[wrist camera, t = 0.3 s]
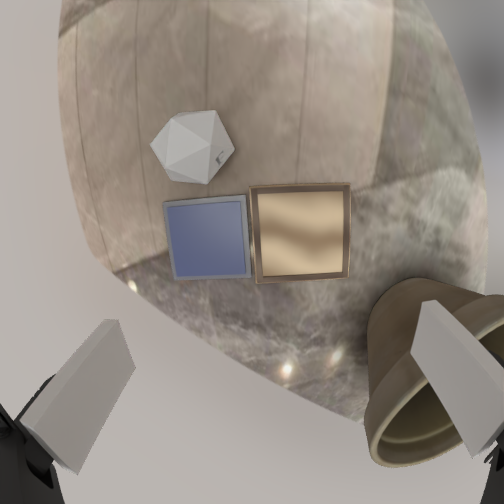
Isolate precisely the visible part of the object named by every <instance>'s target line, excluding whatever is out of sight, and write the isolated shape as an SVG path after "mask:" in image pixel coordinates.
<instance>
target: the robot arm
mask: <svg viewBox="0 0 504 504" xmlns="http://www.w3.org/2000/svg"><path fill="white" fill-rule="evenodd" d="M410 353H411V355H412V356H413V358H414V359H415V361H416V362H417V364H418V365H419V367H420V369H421V370H422V372H423V373H424V375H425V376H426V378H427V380H428V381H429V383H430V384H431V386H432V388H433V389H434V391H435V392H436V394H437V396H438V397H439V399H440V401H441V402H442V404H443V406H444V408H445V409H446V411H447V413H448V414H449V416H450V418H451V420H452V422H453V423H454V425H455V427H456V429H457V431H458V432H459V434H460V436H461V438H462V440H463V442H464V444H465V445H466V447H467V449H468V451H469V453H470V455H471V457H472V459H473V458H474V457H476V456H478V455H480V454H481V453H483V452H484V451H486V450H487V449H488V448H489V447H490V446H491V445H492V444H493V442H494V441H495V440H496V441H497V443H498V445H497V446H496V447H495V448H494V449H493V450H492V452H491V453H490V454H489V455H488V456H487V457H486V458H485V460H484V463H486V462H487V461H488V460H489V459H490V458H491V457H492V456H493V458H492V460H491V461H490V462H489V464H491V467H490V472H489V476H488V479H487V483H486V487H485V490H484V494H483V496H482V499H481V503H480V504H504V360H503V359H502V358H501V357H500V356H499V355H497V354H496V353H494V352H492V351H491V350H486V349H485V348H484V346H483V345H482V344H481V343H480V342H479V341H478V340H477V339H476V338H475V337H474V336H473V335H472V334H471V333H470V332H469V331H468V330H467V329H466V328H465V327H464V326H463V325H462V324H461V323H460V322H459V321H458V320H457V319H456V318H455V317H454V316H453V315H452V314H450V313H449V312H448V311H447V310H446V309H445V308H444V307H443V306H442V305H441V304H440V303H439V302H438V301H437V300H431V301H425V302H422V306H421V311H420V316H419V320H418V325H417V329H416V333H415V337H414V341H413V344H412V348H411V352H410ZM135 368H136V367H135V365H134V362H133V360H132V357H131V354H130V352H129V349H128V347H127V344H126V341H125V338H124V336H123V333H122V330H121V327H120V324H119V321H118V320H110V319H105V320H104V321H103V322H102V323H101V324H100V325H99V326H98V327H97V328H96V329H95V331H94V332H93V333H92V334H91V335H90V336H89V337H88V338H87V340H85V342H84V343H83V344H82V345H81V346H80V347H79V348H78V349H77V350H76V352H75V353H74V354H73V355H72V356H71V357H70V359H69V360H68V361H67V362H66V363H65V364H64V365H63V367H62V368H61V369H60V370H59V371H58V372H57V374H55V375H53V376H52V377H50V378H49V379H48V380H46V381H45V382H44V383H43V385H42V386H41V387H40V390H38V391H37V392H36V393H35V395H34V397H32V398H31V399H30V401H29V402H28V403H27V404H26V406H25V407H24V408H23V410H22V411H21V412H20V413H19V415H18V416H17V417H16V419H15V420H14V421H13V420H12V419H11V418H10V416H9V415H8V413H7V412H6V411H5V409H4V408H3V407H2V405H1V404H0V504H65V503H64V500H63V496H62V493H61V490H60V485H59V482H58V478H57V473H56V470H55V467H54V466H53V464H52V462H53V460H55V461H56V462H57V463H58V464H59V465H60V466H61V467H62V468H64V469H66V470H68V471H70V472H72V473H74V474H76V475H78V473H79V472H80V470H81V468H82V465H83V463H84V462H85V460H86V458H87V456H88V454H89V452H90V450H91V448H92V446H93V444H94V442H95V440H96V438H97V436H98V435H99V433H100V431H101V429H102V427H103V425H104V423H105V422H106V419H107V418H108V416H109V414H110V412H111V410H112V409H113V407H114V405H115V403H116V402H117V399H118V398H119V396H120V394H121V392H122V391H123V389H124V387H125V386H126V384H127V382H128V380H129V379H130V377H131V375H132V373H133V372H134V370H135Z"/></svg>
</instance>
